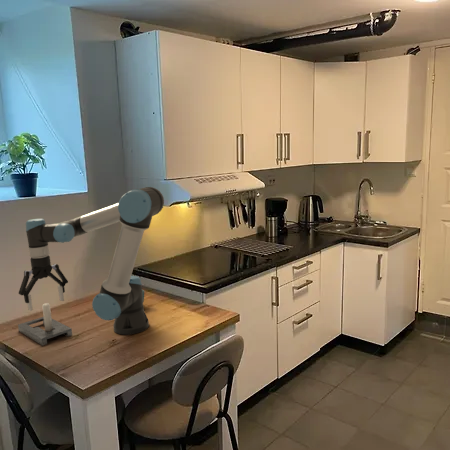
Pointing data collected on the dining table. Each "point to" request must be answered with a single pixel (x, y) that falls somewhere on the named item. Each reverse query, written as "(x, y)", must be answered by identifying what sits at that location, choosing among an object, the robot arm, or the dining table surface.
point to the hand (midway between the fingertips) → (46, 305)
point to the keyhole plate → (40, 334)
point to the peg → (47, 317)
